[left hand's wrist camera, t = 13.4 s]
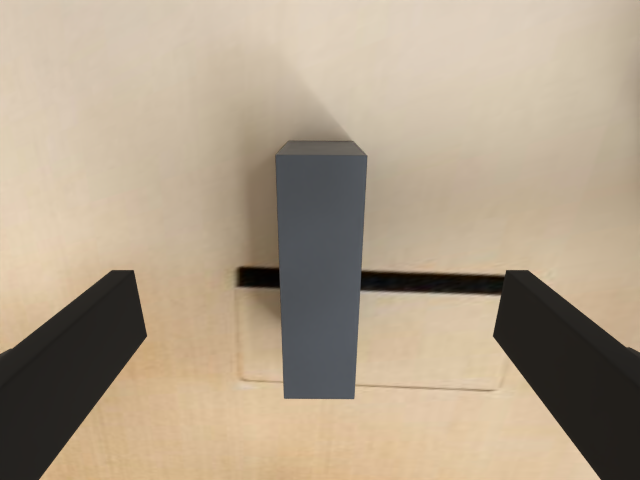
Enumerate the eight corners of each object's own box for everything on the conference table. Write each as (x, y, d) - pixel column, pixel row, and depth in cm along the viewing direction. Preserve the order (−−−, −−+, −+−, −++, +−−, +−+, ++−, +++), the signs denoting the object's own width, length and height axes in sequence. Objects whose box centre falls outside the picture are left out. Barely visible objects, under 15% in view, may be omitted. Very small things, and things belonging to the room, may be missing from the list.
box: (288, 140, 34) (275, 154, 24) (353, 141, 34) (367, 155, 24) (292, 329, 41) (283, 398, 31) (346, 329, 41) (354, 399, 31)
